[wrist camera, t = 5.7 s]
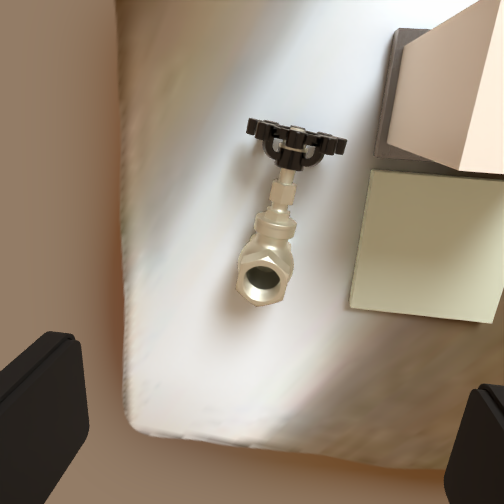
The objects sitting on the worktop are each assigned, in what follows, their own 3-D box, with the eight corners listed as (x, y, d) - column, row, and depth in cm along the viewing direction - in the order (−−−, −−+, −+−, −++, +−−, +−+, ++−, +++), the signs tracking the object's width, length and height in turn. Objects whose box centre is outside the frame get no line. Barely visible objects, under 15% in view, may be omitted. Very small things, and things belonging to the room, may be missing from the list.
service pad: (371, 169, 29) (374, 171, 28) (527, 181, 28) (536, 184, 27) (348, 301, 33) (350, 308, 31) (485, 315, 32) (491, 323, 31)
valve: (301, 281, 33) (342, 136, 28) (302, 321, 26) (354, 143, 22) (225, 263, 33) (254, 116, 29) (208, 299, 27) (241, 118, 22)
